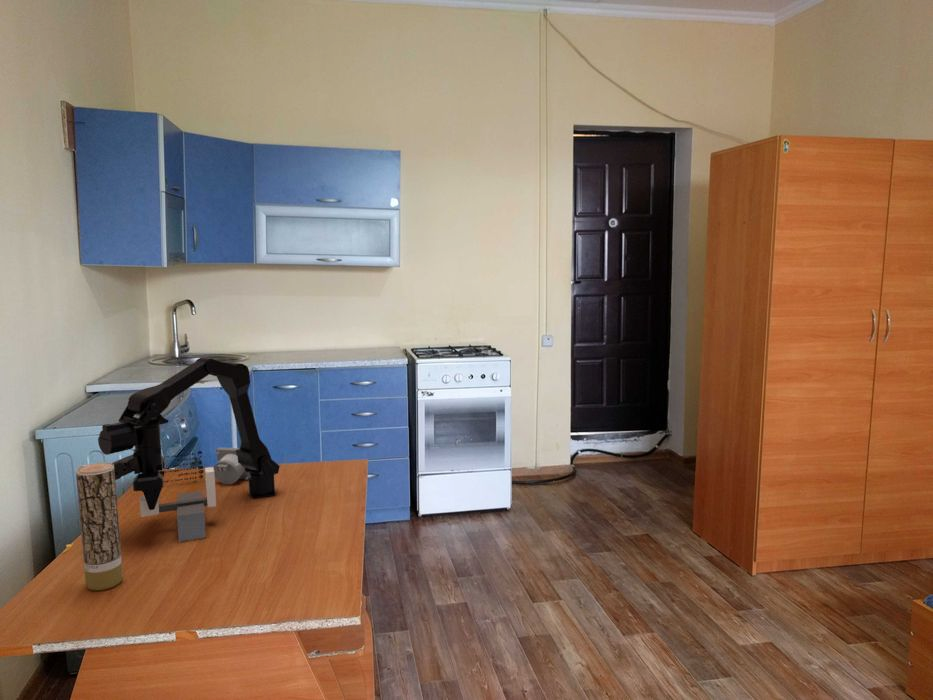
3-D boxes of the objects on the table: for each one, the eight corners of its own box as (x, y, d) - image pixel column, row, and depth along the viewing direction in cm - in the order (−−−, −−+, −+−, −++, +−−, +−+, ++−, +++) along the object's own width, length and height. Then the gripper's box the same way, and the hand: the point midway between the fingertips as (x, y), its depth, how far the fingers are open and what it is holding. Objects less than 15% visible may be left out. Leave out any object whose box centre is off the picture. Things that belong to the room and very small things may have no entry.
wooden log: (107, 593, 134) (97, 474, 130) (78, 590, 135) (67, 471, 132) (130, 577, 140) (121, 463, 137) (102, 574, 142) (93, 461, 138)
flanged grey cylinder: (250, 472, 208) (249, 442, 207) (256, 484, 198) (254, 452, 197) (157, 485, 197) (155, 453, 196) (158, 498, 187) (155, 464, 186)
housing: (203, 514, 175) (202, 490, 174) (205, 538, 160) (204, 512, 159) (179, 518, 172) (177, 494, 171) (178, 542, 158) (177, 516, 157)
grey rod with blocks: (215, 500, 170) (213, 466, 168) (216, 506, 166) (214, 471, 165) (141, 511, 163) (138, 475, 162) (140, 517, 159) (138, 480, 158)
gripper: (114, 438, 165) (118, 498, 167) (105, 459, 148) (111, 525, 150) (163, 433, 169) (167, 492, 172) (160, 453, 152) (165, 518, 154)
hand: (152, 506), depth 162 cm, fingers closed on grey rod with blocks, 4 cm apart
